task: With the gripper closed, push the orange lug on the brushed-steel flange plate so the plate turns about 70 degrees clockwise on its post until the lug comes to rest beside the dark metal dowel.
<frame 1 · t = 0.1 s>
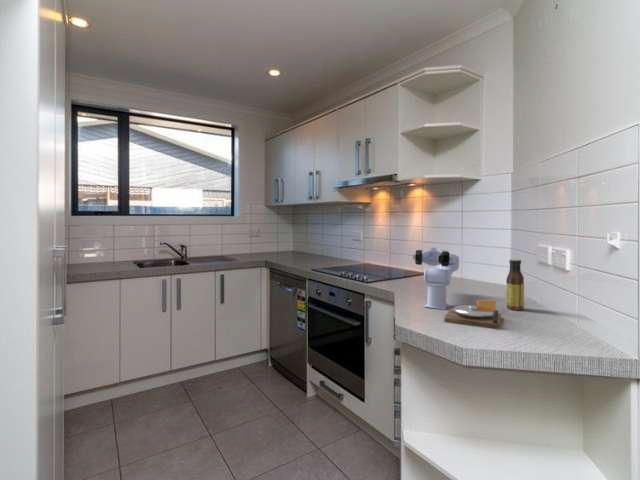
hand: (428, 258, 126), 22 cm above the countertop, tool horizontal, fingers open, 7 cm apart
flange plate: (474, 306, 125), point 5 cm above the countertop, hinge at 0.0°
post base: (473, 319, 125), on the countertop
sauce bottle: (514, 309, 141), on the countertop
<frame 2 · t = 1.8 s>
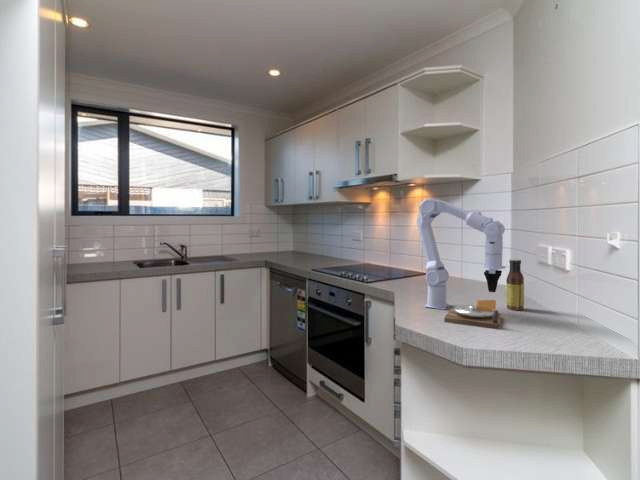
hand: (492, 290, 130), 9 cm above the countertop, tool pointing down, fingers open, 5 cm apart
nothing on the countertop moved.
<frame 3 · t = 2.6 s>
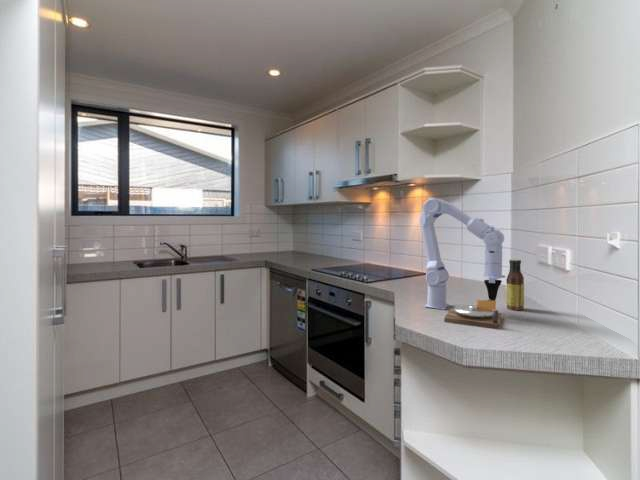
hand: (492, 299, 130), 6 cm above the countertop, tool pointing down, fingers closed
nothing on the countertop moved.
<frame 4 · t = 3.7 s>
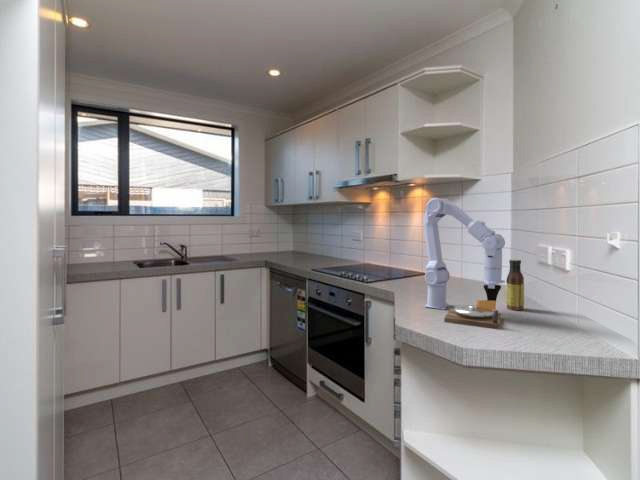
hand: (491, 305, 128), 5 cm above the countertop, tool pointing down, fingers closed, pressing on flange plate
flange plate: (474, 306, 125), point 5 cm above the countertop, hinge at 0.0°, touching gripper
everything else where it was.
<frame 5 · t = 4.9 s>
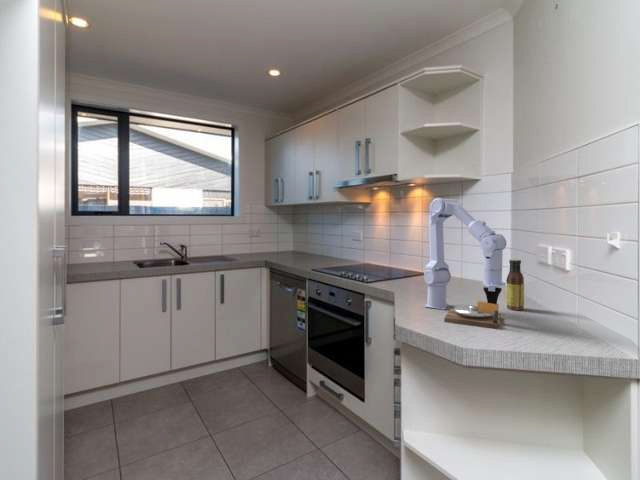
hand: (492, 308, 122), 5 cm above the countertop, tool pointing down, fingers closed, pressing on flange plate
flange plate: (473, 306, 125), point 5 cm above the countertop, hinge at 47.5°, touching gripper
everything else where it was.
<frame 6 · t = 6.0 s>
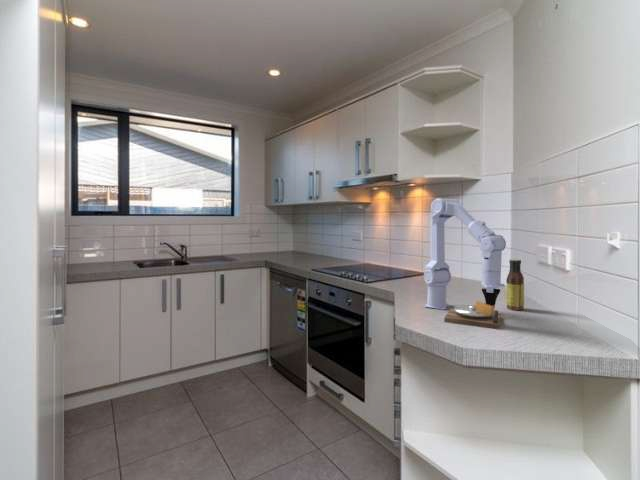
hand: (490, 309, 121), 5 cm above the countertop, tool pointing down, fingers closed, pressing on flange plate
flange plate: (473, 306, 125), point 5 cm above the countertop, hinge at 73.3°, touching gripper
everything else where it was.
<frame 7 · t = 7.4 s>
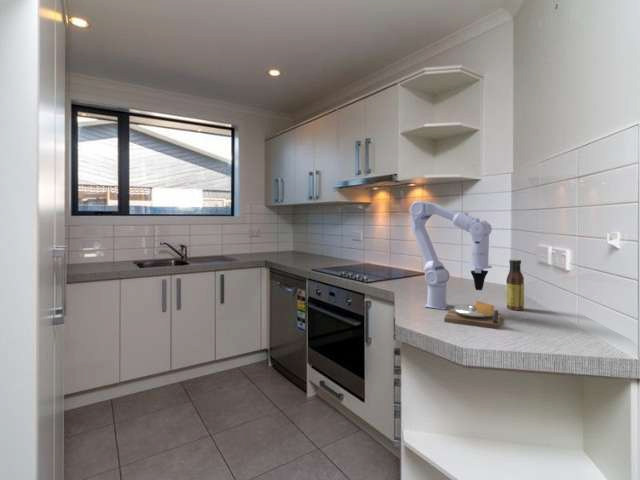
hand: (478, 289, 131), 9 cm above the countertop, tool pointing down, fingers closed
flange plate: (473, 306, 125), point 5 cm above the countertop, hinge at 73.5°
everything else where it was.
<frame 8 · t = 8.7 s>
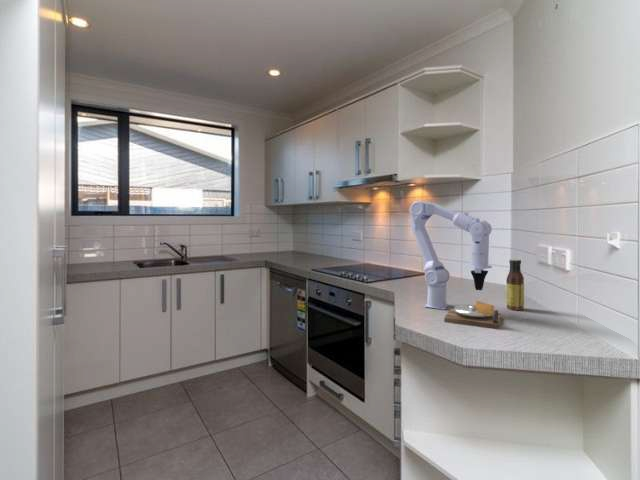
hand: (478, 289, 131), 9 cm above the countertop, tool pointing down, fingers closed
nothing on the countertop moved.
at the end: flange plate at +74° (first picture: +0°); sauce bottle moved 0.2 cm from its start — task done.
